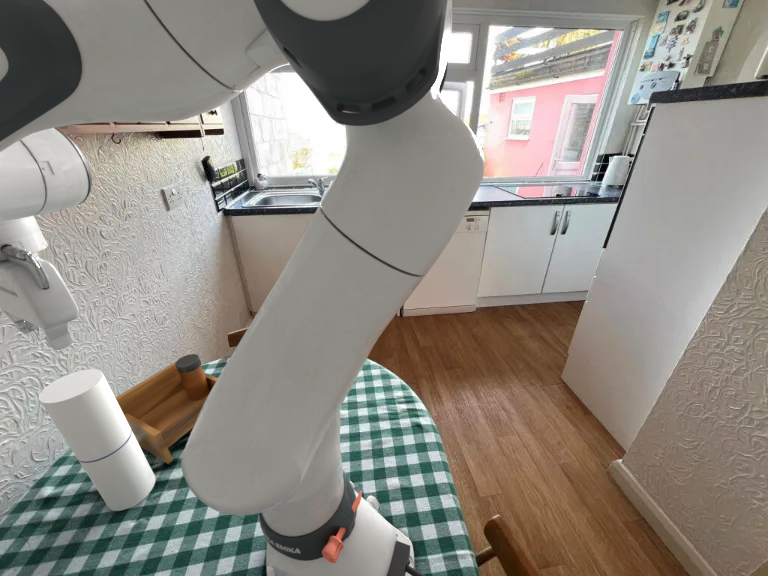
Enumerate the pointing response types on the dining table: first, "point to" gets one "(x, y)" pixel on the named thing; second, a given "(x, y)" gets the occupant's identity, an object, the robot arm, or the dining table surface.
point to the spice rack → (166, 404)
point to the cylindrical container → (99, 437)
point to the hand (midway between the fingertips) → (45, 338)
